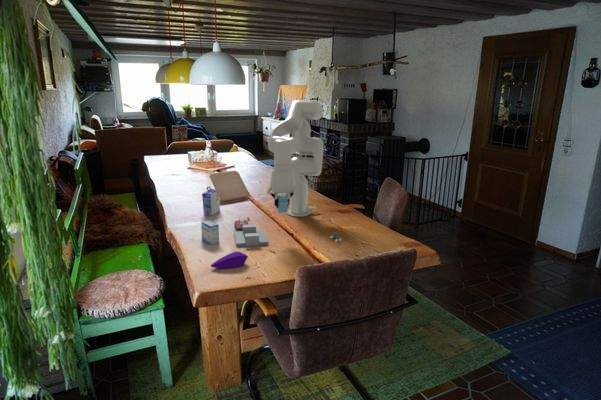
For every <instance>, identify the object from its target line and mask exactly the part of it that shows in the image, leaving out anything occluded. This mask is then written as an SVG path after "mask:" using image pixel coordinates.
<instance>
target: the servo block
mask: <svg viewBox="0 0 601 400" xmlns="http://www.w3.org/2000/svg"><path fill="white" fill-rule="evenodd" d="M277 198H278V208H276V207H275V209H276V210H277V212H278V213H287V212H288V210H289V209H288V208H289V205H288V204H289V202H288V197H287V195H286V193H278V197H277Z"/></svg>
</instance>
